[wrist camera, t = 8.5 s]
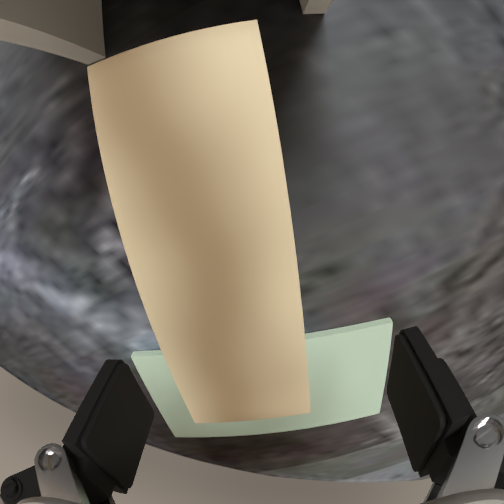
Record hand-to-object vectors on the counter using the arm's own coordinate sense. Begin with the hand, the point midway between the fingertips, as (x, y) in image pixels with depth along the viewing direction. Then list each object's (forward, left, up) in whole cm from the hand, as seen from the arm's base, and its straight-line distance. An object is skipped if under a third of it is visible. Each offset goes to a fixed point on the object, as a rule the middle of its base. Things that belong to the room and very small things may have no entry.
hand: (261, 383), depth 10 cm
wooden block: (+1, -4, -9) cm, 10 cm away
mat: (+1, +10, -9) cm, 13 cm away
